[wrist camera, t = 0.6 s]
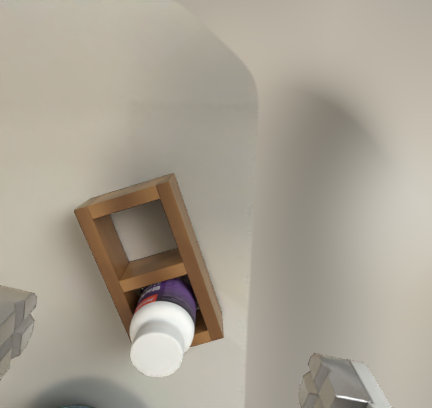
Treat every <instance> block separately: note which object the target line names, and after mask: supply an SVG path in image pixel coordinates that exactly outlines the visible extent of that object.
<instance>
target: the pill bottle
mask: <svg viewBox="0 0 432 408" xmlns="http://www.w3.org/2000/svg"><path fill="white" fill-rule="evenodd" d="M196 306H197V299H196V297H195V294H194V291H193V288H192V286H191V283H190V280H189V277H188V274H186V275H183V276H179V277H176V278H173V279H169V280H166V281H162V282H159V283H155V284H152V285H148V286H145V287H144V289H143V292H142V294H141V297H140V299H139V302H138V305H137V307H136V310H135V312H134V315H133V317H132V321H131V324H130V339H131V342H132V346H131V350H130V358H131V361H132V364H133V365H134V367H135V368H136V369H137V370H138V371H139V372H141V373H142V374H145V375H147V376H150V377H165V376H168V375H170V374H172V373H174V372H175V371H176V370H177V369H178V368H179V367H180V365H181V363H182V360H183V355H184V353H185V352H186V351H187V350H188V348H189V347H190V345H191V343H192V341H193V337H194V331H195V318H196Z"/></svg>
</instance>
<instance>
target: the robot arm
mask: <svg viewBox="0 0 432 408" xmlns="http://www.w3.org/2000/svg"><path fill="white" fill-rule="evenodd" d="M36 299H37V296H36V295H35V293H32V292H27V291H23V290H19V289H15V288H10V287H6V286H2V285H0V380H1V378H2V377H3V376H4V374H5V373H6V372H7V371H8V369H9V368H10V362H11V359H12V358H15V357H17V356H19V355H20V354H21V353H22V351H23V350H24V349H25V347H26V345H27V343H28V341H29V339H30V337H31V334H32V331H33V327H34V319H33V317H32V316H31V314H30V313H31V312H32V311H33V309H34V308H35V307H36ZM308 365H309V368H310V371H309V372H308V373H306V374H305V375H303V377H302V380H301V383H300V387H299V403H300V407H301V408H392V407H391V405H390V404H389V402H388V400H387V399H386V397H385V395H384V394H383V392H382V390H381V388H380V387H379V385H378V383H377V382H376V380H375V378H374V377H373V375H372V373H371V372H370V370H369V368H368V366H367V365H366V364H365V363H363V362H360V361H355V360H350V359H341V358H336V357H332V356H327V355H322V354H317V353H314V354H313V355H312V356H311V357H310V360H309V362H308Z"/></svg>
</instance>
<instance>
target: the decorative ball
mask: <svg viewBox="0 0 432 408" xmlns="http://www.w3.org/2000/svg"><path fill="white" fill-rule="evenodd" d="M59 408H94V407H87V406H80V405H74V406H65V407H59Z"/></svg>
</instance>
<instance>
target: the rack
mask: <svg viewBox="0 0 432 408" xmlns="http://www.w3.org/2000/svg"><path fill="white" fill-rule="evenodd" d="M158 199H160V200H161V203H162V205H163V208H164V211H165V214H166V216H167V219H168V222H169V225H170V227H171V230H172V233H173V236H174V238H175V241H176V244H177V247H178V248H176V249H173V250H169V251H166V252H162V253H159V254H156V255H152V256H149V257H145V258H142V259H139V260H135V261H132V262H128V259H127V257H126V254H125V252H124V249H123V247H122V245H121V242H120V240H119V237H118V235H117V232H116V230H115V227H114V225H113V222H112V220H111V218H110V215H109V214H112V213H115V212H118V211H121V210H125V209H128V208H131V207H135V206H138V205H141V204H144V203H148V202H151V201H154V200H158ZM74 212H75V215H76V217H77V219H78V222H79V224H80V226H81V228H82V231H83V233H84V235H85V238H86V240H87V242H88V244H89V247H90V249H91V251H92V254H93V256H94V258H95V261H96V263H97V265H98V267H99V270H100V272H101V274H102V277H103V279H104V281H105V283H106V286H107V288H108V290H109V293H110V295H111V297H112V300H113V302H114V304H115V306H116V309H117V311H118V313H119V316H120V318H121V320H122V323H123V325H124V327H125V329H126V332H127V334H128V336H129V339H130V324H131V321H132V317H133V315H134V312H135V310H136V307H137V305H138V302H139V299H140V297H141V291H140V289H139V288H141V287H145V286H148V285H152V284H155V283H159V282H162V281H166V280H169V279H173V278H176V277H179V276H183V275H186V274H188V277H189V280H190V283H191V286H192V288H193V291H194V294H195V297H196V299H197V302H198V305H199V308H200V309H199V310H196V318H195V331H194V337H193V341H192V343H191V345H190V347H192V346H196V345H199V344H203V343H207V342H210V341H214V340H217V339H221V338H223V337H224V336H223V319H222V311H221V309H220V306H219V303H218V300H217V297H216V294H215V291H214V288H213V285H212V282H211V279H210V276H209V274H208V271H207V268H206V265H205V262H204V259H203V256H202V253H201V250H200V247H199V244H198V242H197V239H196V236H195V233H194V230H193V227H192V224H191V221H190V218H189V215H188V212H187V209H186V207H185V204H184V201H183V198H182V195H181V192H180V189H179V186H178V183H177V180H176V177H175V175H174V173H172V174H169V175H166V176H162V177H159V178H156V179H153V180H149V181H146V182H143V183H140V184H136V185H133V186H130V187H127V188H123V189H120V190H117V191H114V192H110V193H107V194H104V195H102V196H98V197H94V198H91V199H89V200H88V201H86V202H85V203H84V204H82V205H81V206H79V207H78V208H77V209H75V210H74ZM130 341H131V339H130ZM131 343H132V342H131Z"/></svg>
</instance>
